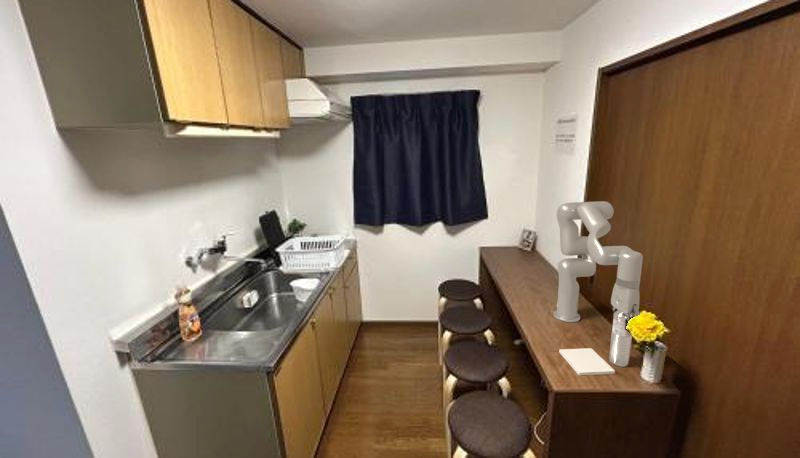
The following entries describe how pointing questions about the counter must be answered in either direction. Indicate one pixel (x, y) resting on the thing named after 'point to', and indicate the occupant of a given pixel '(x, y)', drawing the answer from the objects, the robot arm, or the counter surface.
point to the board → (586, 361)
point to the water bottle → (620, 341)
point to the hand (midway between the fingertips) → (622, 324)
